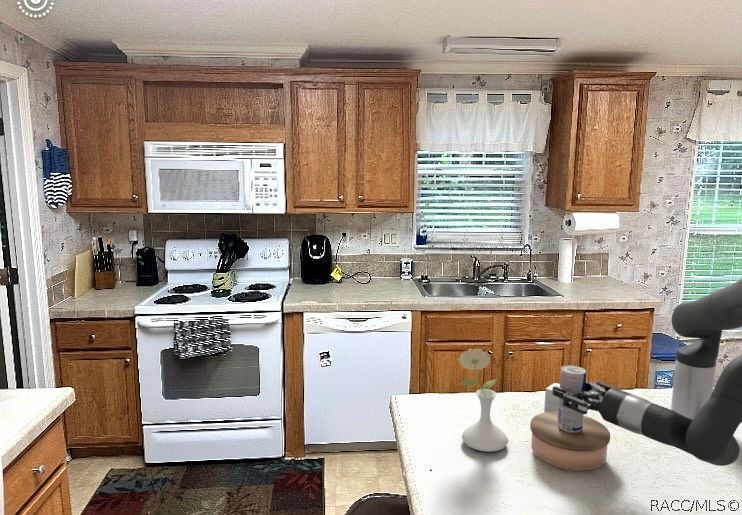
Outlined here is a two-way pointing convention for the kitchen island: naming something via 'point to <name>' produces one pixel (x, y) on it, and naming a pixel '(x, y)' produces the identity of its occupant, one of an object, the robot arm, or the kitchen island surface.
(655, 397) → the kitchen island surface
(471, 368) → the flower in vase
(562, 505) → the kitchen island surface
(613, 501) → the kitchen island surface
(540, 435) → the lidded bowl
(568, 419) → the beverage can
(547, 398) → the product box
